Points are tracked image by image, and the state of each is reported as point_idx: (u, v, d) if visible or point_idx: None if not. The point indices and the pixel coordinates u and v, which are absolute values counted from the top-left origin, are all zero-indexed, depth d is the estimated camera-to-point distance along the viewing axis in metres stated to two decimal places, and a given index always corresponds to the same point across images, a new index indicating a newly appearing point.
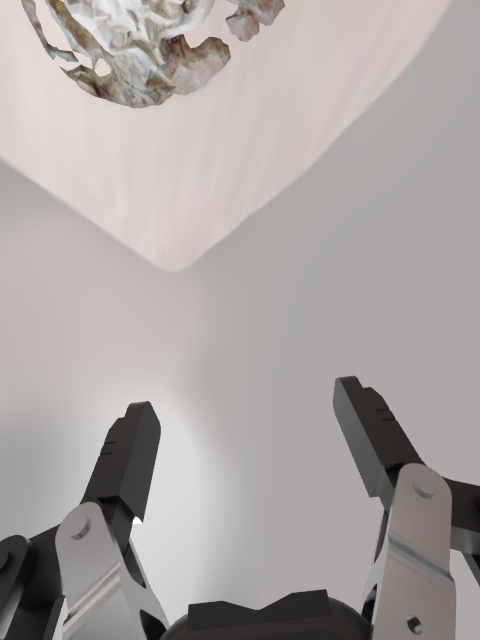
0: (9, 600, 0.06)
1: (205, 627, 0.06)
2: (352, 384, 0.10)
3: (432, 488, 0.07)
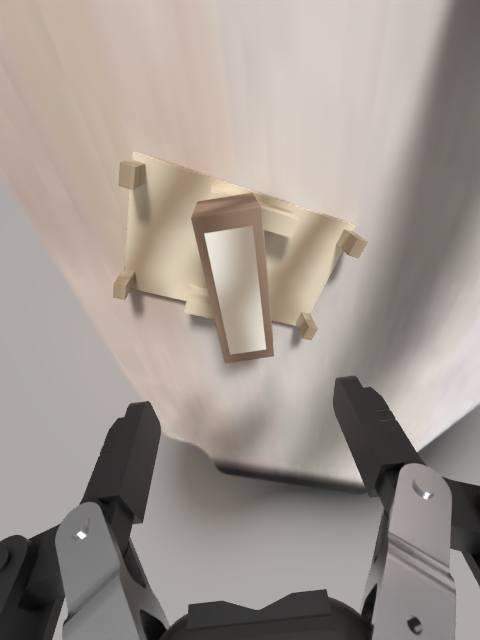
0: (9, 600, 0.06)
1: (205, 627, 0.06)
2: (352, 384, 0.10)
3: (432, 488, 0.07)
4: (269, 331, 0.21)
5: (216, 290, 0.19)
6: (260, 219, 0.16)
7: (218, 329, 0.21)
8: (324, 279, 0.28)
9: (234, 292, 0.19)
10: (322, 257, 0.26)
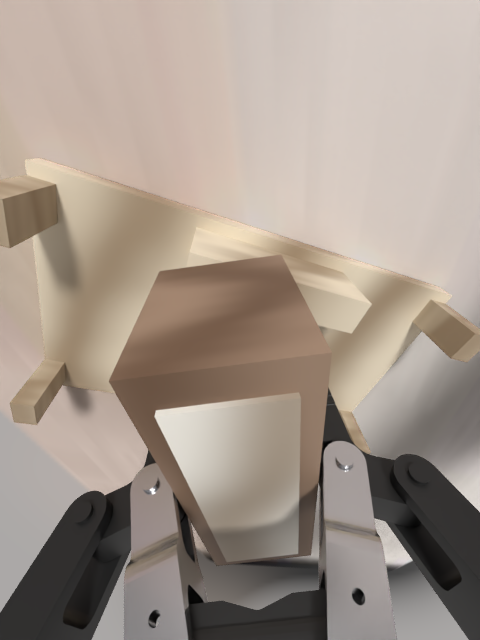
0: (85, 552, 0.07)
1: (205, 627, 0.06)
2: None
3: (350, 459, 0.08)
4: (308, 533, 0.10)
5: (196, 496, 0.08)
6: (324, 379, 0.05)
7: (202, 537, 0.10)
8: (382, 370, 0.17)
9: (240, 500, 0.08)
10: (385, 340, 0.16)
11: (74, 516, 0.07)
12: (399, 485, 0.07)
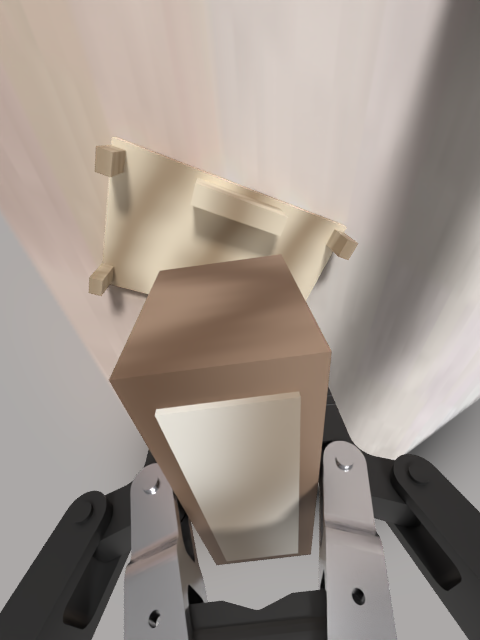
0: (85, 553, 0.07)
1: (205, 627, 0.06)
2: None
3: (350, 459, 0.08)
4: (308, 532, 0.10)
5: (196, 496, 0.08)
6: (324, 378, 0.05)
7: (203, 536, 0.10)
8: (313, 281, 0.27)
9: (240, 499, 0.08)
10: (311, 258, 0.25)
11: (74, 516, 0.07)
12: (399, 485, 0.07)
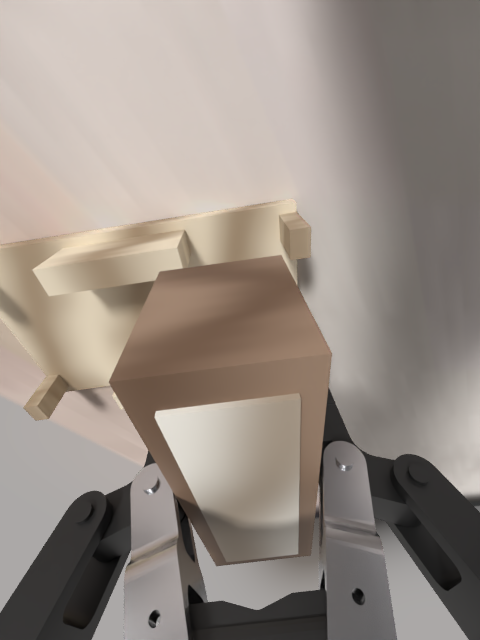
0: (85, 553, 0.07)
1: (205, 627, 0.06)
2: None
3: (350, 459, 0.08)
4: (308, 533, 0.10)
5: (196, 497, 0.08)
6: (324, 380, 0.05)
7: (202, 537, 0.10)
8: None
9: (240, 500, 0.08)
10: None
11: (74, 516, 0.07)
12: (399, 485, 0.07)
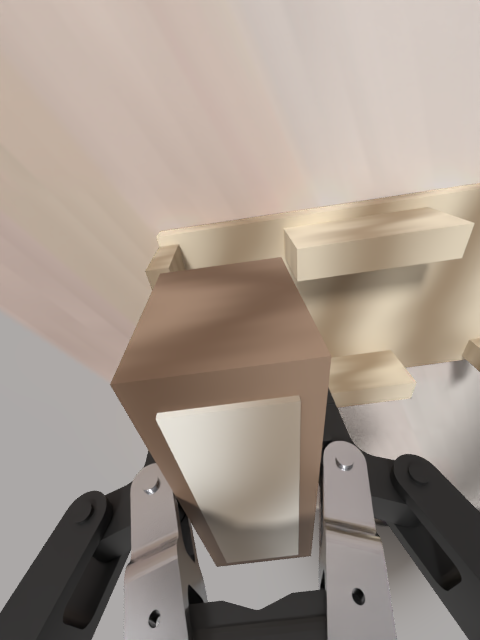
0: (85, 552, 0.07)
1: (205, 627, 0.06)
2: None
3: (350, 459, 0.08)
4: (308, 534, 0.10)
5: (197, 498, 0.08)
6: (324, 382, 0.05)
7: (203, 538, 0.10)
8: None
9: (240, 501, 0.08)
10: None
11: (74, 516, 0.07)
12: (399, 485, 0.07)
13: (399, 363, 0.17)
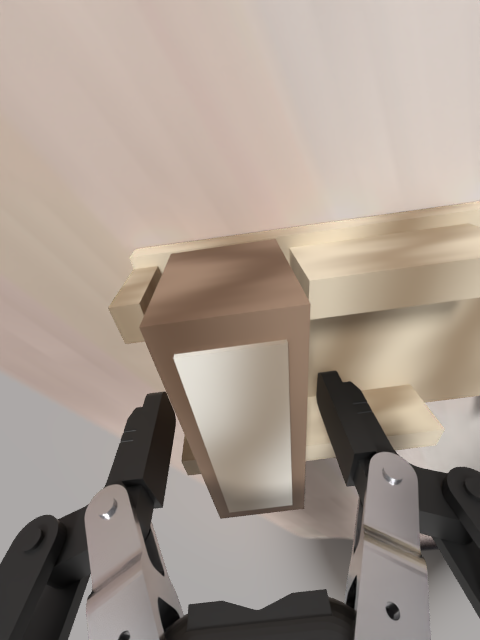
0: (39, 578, 0.07)
1: (205, 627, 0.06)
2: (332, 378, 0.11)
3: (400, 474, 0.07)
4: (300, 483, 0.12)
5: (204, 440, 0.09)
6: (306, 327, 0.07)
7: (208, 485, 0.11)
8: None
9: (240, 443, 0.09)
10: None
11: (22, 545, 0.07)
12: (451, 495, 0.07)
13: (422, 402, 0.15)
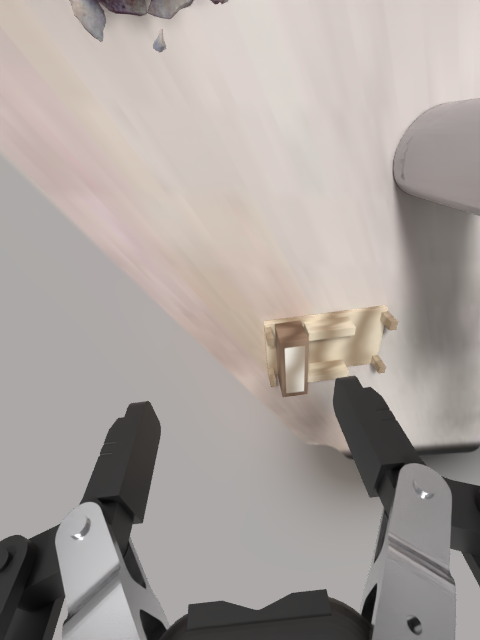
0: (9, 600, 0.06)
1: (205, 627, 0.06)
2: (352, 384, 0.10)
3: (432, 488, 0.07)
4: (306, 383, 0.44)
5: (285, 367, 0.42)
6: (308, 343, 0.39)
7: (282, 382, 0.43)
8: (379, 336, 0.46)
9: (293, 368, 0.42)
10: (374, 327, 0.45)
11: None
12: None
13: (344, 364, 0.47)
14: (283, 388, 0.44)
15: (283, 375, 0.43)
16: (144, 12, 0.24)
